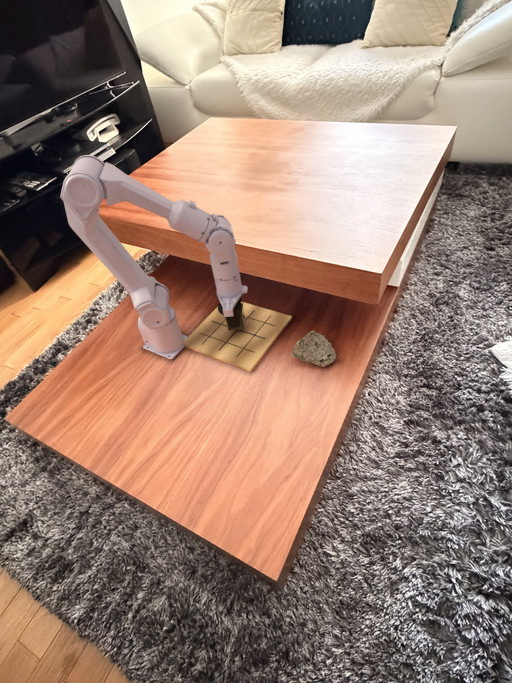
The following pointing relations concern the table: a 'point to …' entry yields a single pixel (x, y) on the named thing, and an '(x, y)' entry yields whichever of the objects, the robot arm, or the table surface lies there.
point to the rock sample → (314, 350)
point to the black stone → (242, 322)
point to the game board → (238, 336)
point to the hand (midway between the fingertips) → (235, 320)
